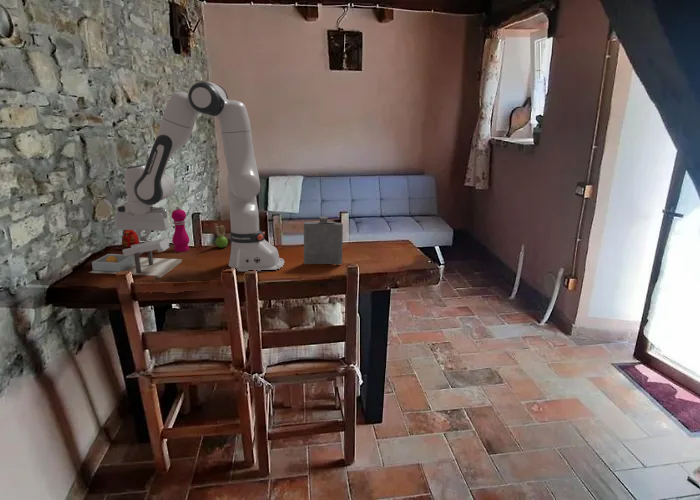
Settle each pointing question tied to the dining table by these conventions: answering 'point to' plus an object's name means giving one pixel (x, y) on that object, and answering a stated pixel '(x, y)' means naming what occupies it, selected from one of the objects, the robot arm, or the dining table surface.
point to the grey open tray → (111, 266)
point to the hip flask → (323, 242)
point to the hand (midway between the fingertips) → (144, 240)
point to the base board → (149, 266)
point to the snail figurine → (221, 236)
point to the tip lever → (147, 247)
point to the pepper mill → (180, 231)
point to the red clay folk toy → (129, 239)
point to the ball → (112, 259)
